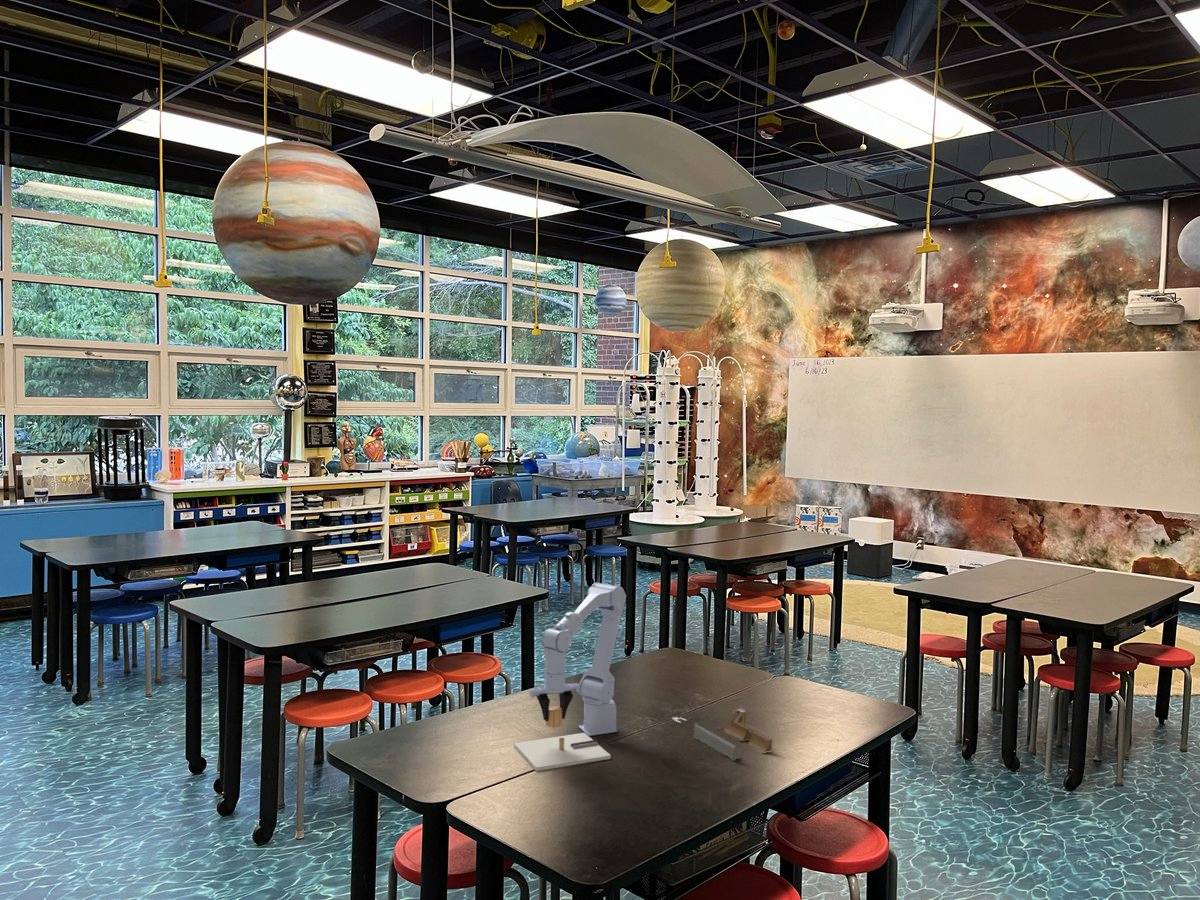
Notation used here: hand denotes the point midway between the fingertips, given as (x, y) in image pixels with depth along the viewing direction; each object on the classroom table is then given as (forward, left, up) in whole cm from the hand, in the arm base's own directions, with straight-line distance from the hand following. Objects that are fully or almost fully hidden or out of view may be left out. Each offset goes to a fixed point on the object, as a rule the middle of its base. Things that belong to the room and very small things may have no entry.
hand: (554, 718), depth 238 cm
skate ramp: (-55, +16, -9) cm, 58 cm away
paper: (-47, -12, -9) cm, 49 cm away
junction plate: (-1, +3, -9) cm, 9 cm away
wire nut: (0, 0, -2) cm, 2 cm away
